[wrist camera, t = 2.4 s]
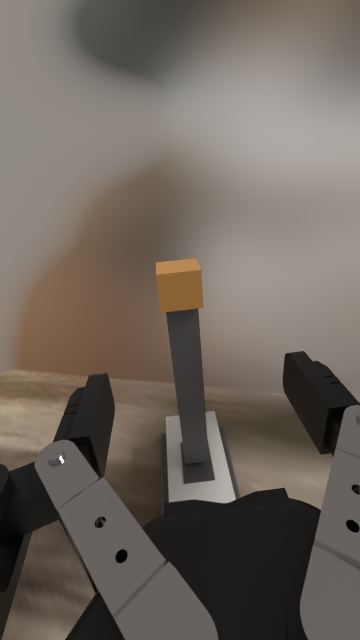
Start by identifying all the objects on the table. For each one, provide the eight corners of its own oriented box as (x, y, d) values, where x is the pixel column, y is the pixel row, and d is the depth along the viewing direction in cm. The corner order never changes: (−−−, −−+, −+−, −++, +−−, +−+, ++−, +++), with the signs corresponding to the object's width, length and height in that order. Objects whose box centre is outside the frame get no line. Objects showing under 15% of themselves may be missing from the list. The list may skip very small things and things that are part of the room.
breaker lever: (213, 465, 31) (200, 269, 21) (182, 468, 31) (156, 274, 21) (208, 441, 34) (195, 258, 24) (180, 444, 34) (156, 262, 24)
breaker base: (261, 583, 28) (263, 547, 25) (164, 596, 27) (155, 561, 25) (222, 430, 44) (221, 397, 41) (160, 438, 43) (155, 405, 41)
